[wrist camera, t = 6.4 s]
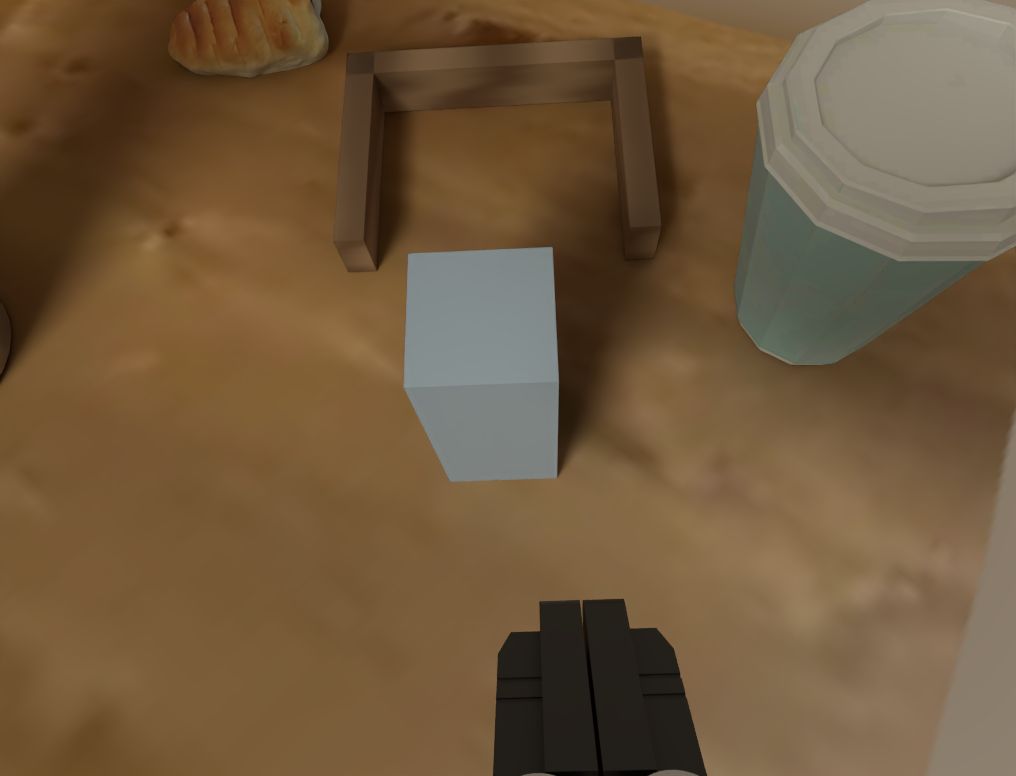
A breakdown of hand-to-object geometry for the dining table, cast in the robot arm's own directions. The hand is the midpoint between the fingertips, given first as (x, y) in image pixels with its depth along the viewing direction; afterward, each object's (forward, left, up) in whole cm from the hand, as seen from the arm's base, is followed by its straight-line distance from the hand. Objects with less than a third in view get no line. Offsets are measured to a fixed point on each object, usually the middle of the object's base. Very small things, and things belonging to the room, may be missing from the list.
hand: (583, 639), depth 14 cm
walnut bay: (-2, +26, -20) cm, 33 cm away
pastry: (-17, +36, -21) cm, 45 cm away
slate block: (-2, +11, -20) cm, 23 cm away
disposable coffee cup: (+13, +17, -21) cm, 29 cm away
